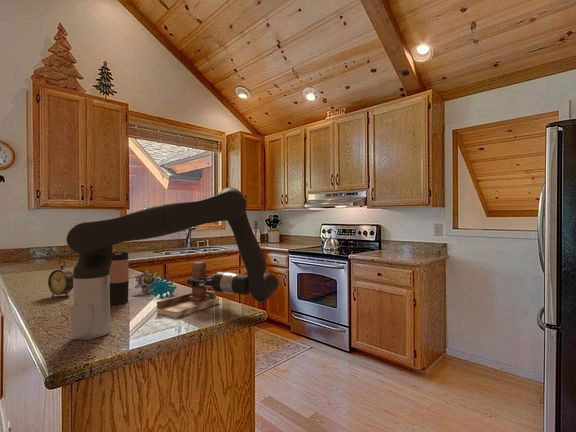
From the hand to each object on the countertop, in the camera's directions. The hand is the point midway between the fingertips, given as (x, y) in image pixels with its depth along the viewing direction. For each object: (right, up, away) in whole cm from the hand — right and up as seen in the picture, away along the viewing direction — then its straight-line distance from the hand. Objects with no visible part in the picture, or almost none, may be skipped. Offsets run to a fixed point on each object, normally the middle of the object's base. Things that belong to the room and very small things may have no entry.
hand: (196, 278), depth 126 cm
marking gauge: (+2, -8, -1) cm, 8 cm away
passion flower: (-29, -11, +23) cm, 38 cm away
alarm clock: (-64, -11, +16) cm, 67 cm away
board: (-1, -10, -6) cm, 11 cm away
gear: (-18, -10, +14) cm, 25 cm away
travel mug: (-33, -11, +4) cm, 35 cm away
